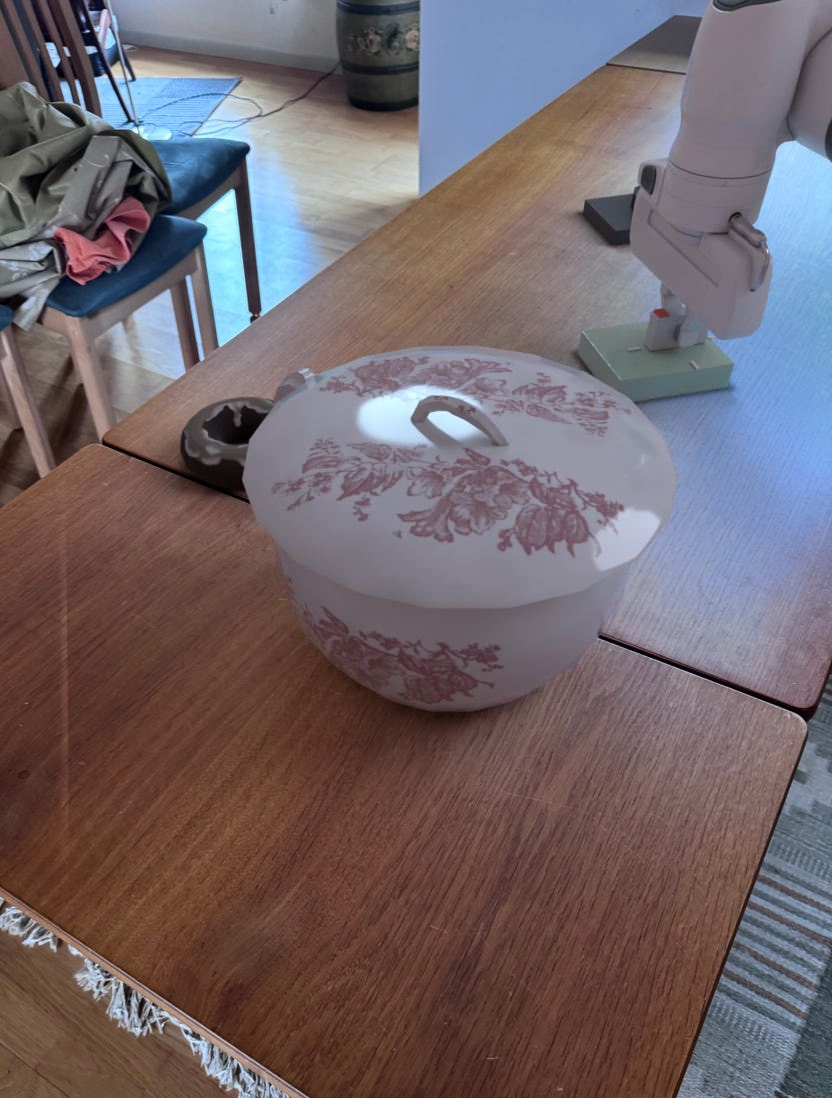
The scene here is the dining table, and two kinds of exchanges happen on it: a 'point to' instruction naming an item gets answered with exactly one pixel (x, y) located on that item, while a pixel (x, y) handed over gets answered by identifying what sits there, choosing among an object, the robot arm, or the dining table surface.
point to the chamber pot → (456, 516)
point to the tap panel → (652, 363)
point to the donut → (222, 439)
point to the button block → (612, 216)
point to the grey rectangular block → (667, 328)
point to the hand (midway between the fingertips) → (676, 335)
